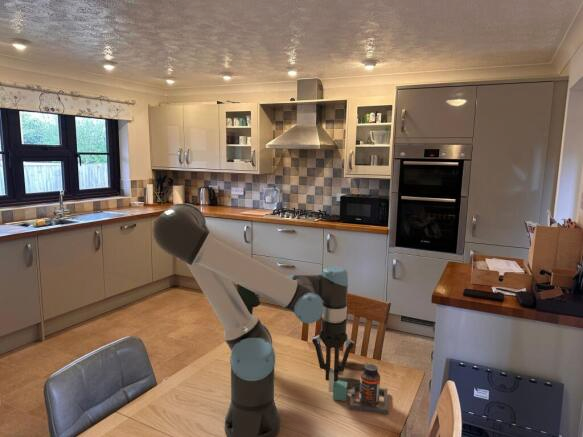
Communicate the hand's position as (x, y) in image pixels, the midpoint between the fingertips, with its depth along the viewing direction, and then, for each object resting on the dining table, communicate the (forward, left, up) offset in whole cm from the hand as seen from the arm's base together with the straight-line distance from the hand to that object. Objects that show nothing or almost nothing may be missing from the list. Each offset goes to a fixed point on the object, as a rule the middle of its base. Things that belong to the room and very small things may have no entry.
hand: (331, 389), depth 128 cm
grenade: (-32, +16, -2) cm, 36 cm away
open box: (+5, +12, -2) cm, 13 cm away
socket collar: (+12, 0, -2) cm, 12 cm away
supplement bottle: (+12, 0, -2) cm, 12 cm away
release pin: (+4, 0, -2) cm, 4 cm away
